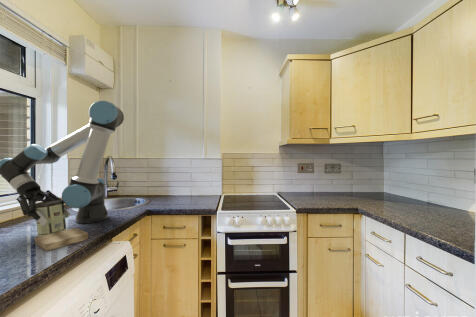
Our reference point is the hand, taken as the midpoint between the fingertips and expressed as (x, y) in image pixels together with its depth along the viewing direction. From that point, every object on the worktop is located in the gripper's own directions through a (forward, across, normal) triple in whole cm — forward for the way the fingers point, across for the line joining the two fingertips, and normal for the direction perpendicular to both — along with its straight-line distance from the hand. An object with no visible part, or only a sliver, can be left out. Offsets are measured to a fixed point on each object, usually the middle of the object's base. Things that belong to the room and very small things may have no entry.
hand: (57, 219), depth 99 cm
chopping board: (+12, +9, +3) cm, 15 cm away
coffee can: (+2, 0, -6) cm, 7 cm away
